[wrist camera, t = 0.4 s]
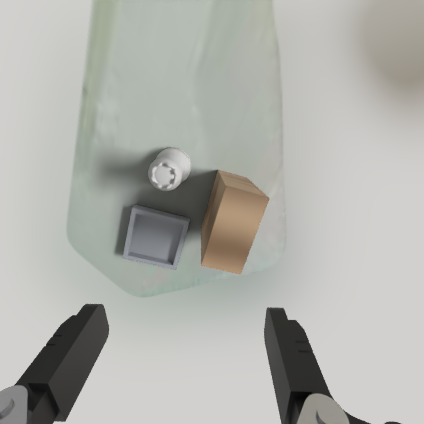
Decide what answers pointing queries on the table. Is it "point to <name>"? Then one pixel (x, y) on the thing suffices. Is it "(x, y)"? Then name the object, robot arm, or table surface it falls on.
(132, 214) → the tray
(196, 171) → the table surface
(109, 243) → the table surface
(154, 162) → the rook chess piece
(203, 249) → the block
